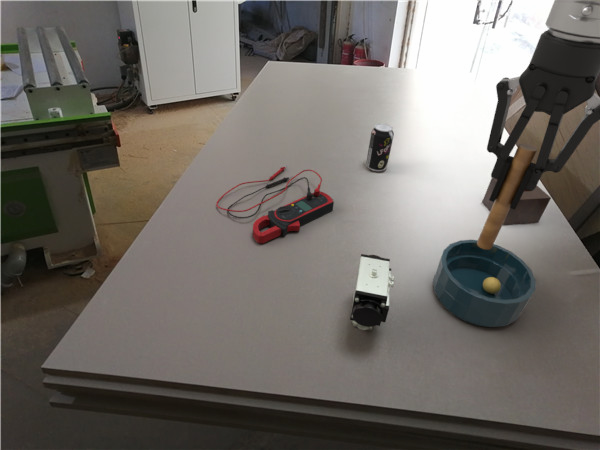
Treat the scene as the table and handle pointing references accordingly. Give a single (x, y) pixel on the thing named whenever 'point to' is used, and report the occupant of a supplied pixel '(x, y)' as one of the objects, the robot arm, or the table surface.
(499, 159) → the robot arm
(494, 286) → the bead
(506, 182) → the stirring stick
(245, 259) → the table surface
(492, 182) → the holder
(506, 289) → the bowl
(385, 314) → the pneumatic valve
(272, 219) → the digital clamp meter
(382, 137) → the beverage can
